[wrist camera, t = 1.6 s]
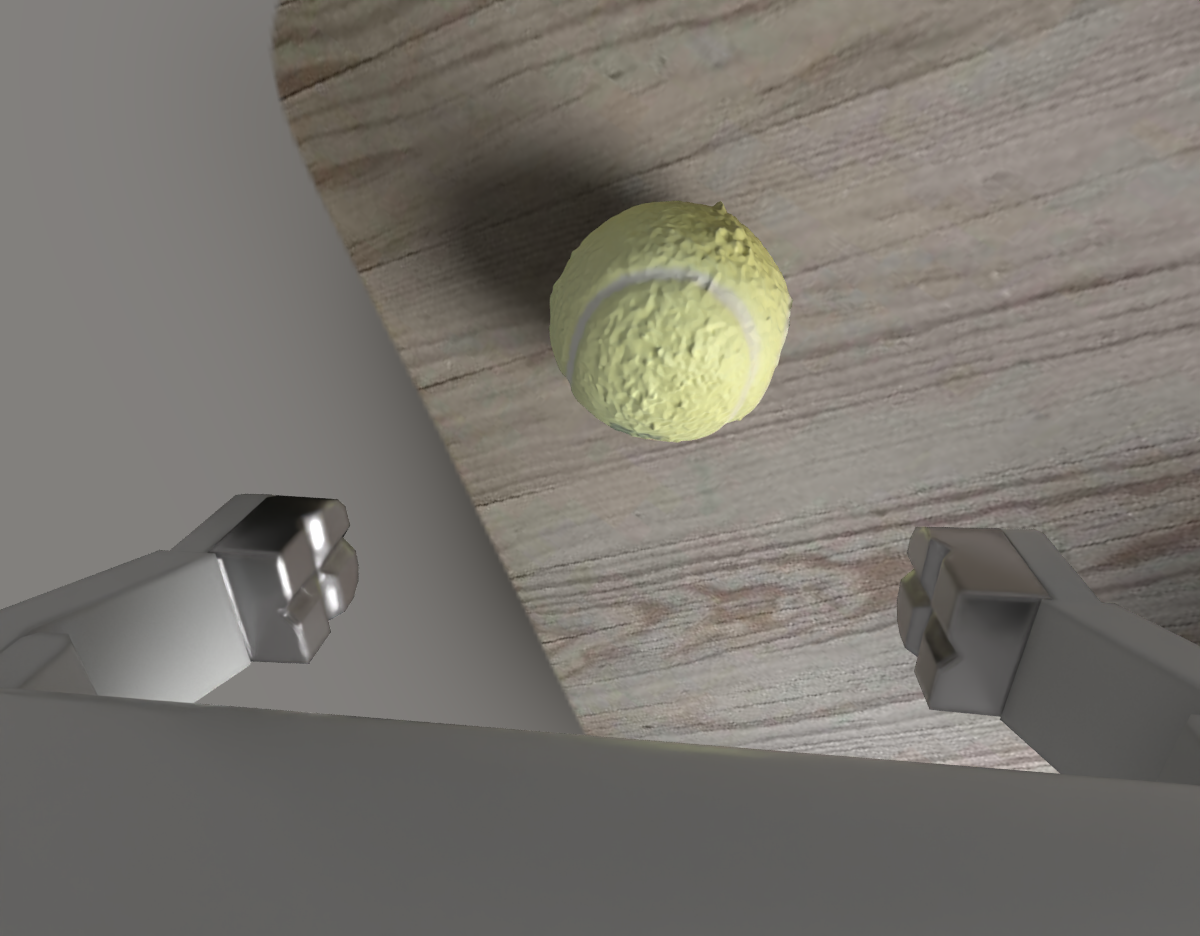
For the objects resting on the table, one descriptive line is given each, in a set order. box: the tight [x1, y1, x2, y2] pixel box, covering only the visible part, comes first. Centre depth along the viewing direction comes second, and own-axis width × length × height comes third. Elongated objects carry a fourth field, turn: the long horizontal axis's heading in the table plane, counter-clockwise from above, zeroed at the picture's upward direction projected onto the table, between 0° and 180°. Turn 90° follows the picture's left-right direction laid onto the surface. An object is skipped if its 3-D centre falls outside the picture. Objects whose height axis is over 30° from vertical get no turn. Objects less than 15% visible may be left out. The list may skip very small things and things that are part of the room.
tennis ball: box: [549, 201, 793, 442], centre depth 19 cm, size 6×7×7 cm
